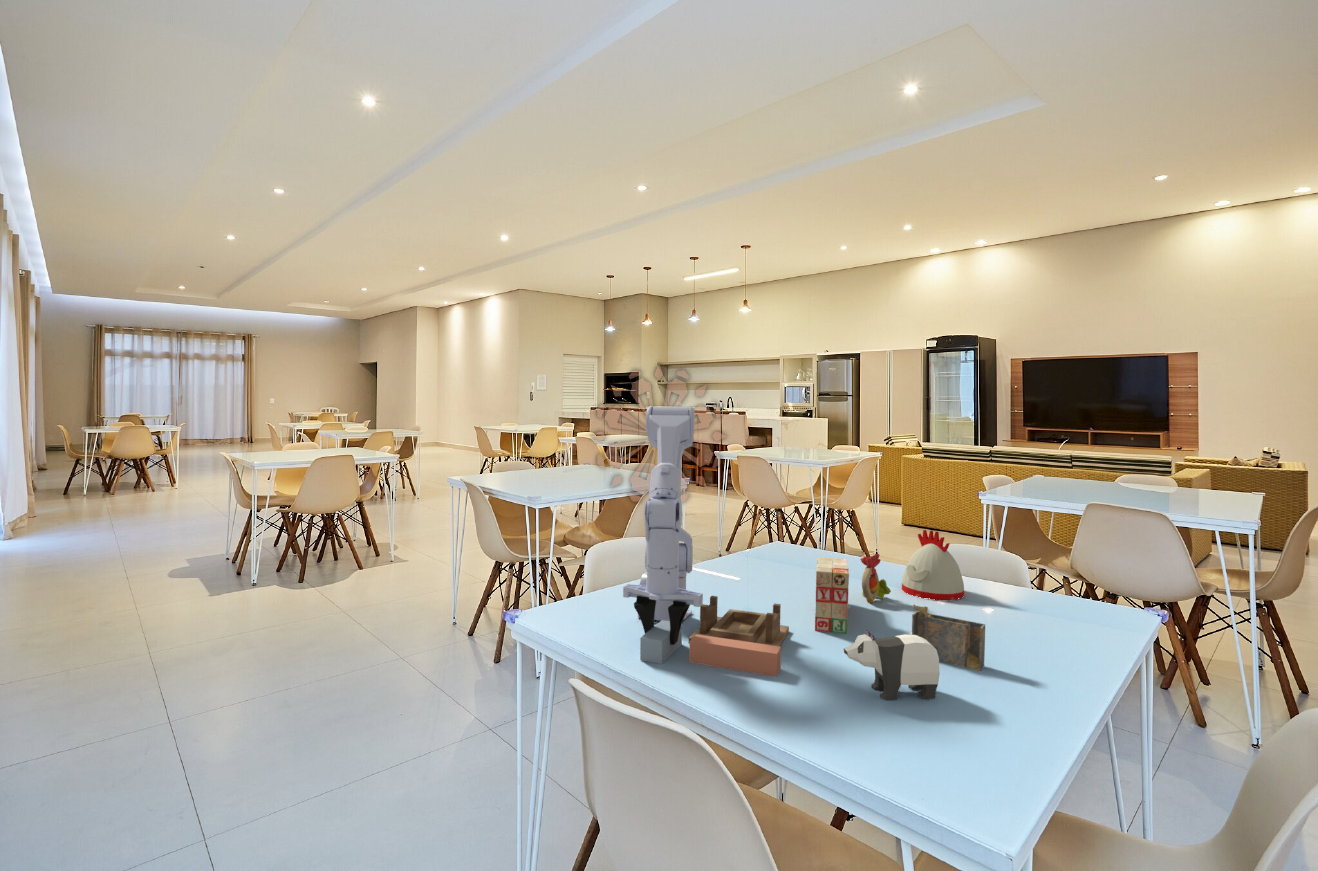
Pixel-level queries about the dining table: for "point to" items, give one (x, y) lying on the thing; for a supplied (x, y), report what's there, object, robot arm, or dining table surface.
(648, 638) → the pale grey pillar block
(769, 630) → the jig
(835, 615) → the stack of blocks
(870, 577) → the bird rattle
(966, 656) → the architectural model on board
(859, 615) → the dining table surface
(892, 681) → the giant panda
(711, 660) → the terracotta rectangular bar
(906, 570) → the kitchen timer
